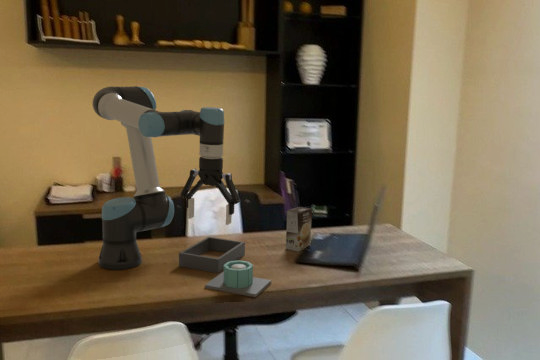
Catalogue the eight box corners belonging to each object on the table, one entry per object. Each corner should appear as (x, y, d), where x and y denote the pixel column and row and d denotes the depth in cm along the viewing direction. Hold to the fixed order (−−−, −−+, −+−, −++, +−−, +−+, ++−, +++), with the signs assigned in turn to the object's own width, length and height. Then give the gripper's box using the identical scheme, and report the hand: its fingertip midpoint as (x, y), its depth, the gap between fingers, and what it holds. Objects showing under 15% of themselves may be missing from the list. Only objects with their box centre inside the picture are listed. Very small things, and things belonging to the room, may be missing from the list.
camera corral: (179, 266, 192) (178, 253, 191) (208, 248, 212) (208, 236, 211) (218, 273, 186) (218, 259, 185) (244, 254, 206) (244, 242, 205)
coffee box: (298, 252, 210) (300, 212, 207) (285, 248, 214) (286, 210, 211) (310, 246, 217) (312, 208, 214) (297, 243, 221) (298, 206, 218)
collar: (219, 285, 173) (219, 267, 172) (231, 275, 181) (231, 259, 180) (244, 289, 169) (245, 271, 168) (256, 280, 178) (256, 263, 177)
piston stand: (204, 287, 173) (204, 268, 172) (223, 274, 185) (223, 256, 183) (255, 297, 166) (256, 277, 165) (271, 283, 178) (271, 264, 177)
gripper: (170, 154, 170) (170, 218, 174) (242, 162, 161) (240, 229, 166) (182, 151, 176) (181, 212, 181) (251, 159, 168) (249, 223, 173)
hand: (209, 220), depth 174 cm, fingers open, 13 cm apart
